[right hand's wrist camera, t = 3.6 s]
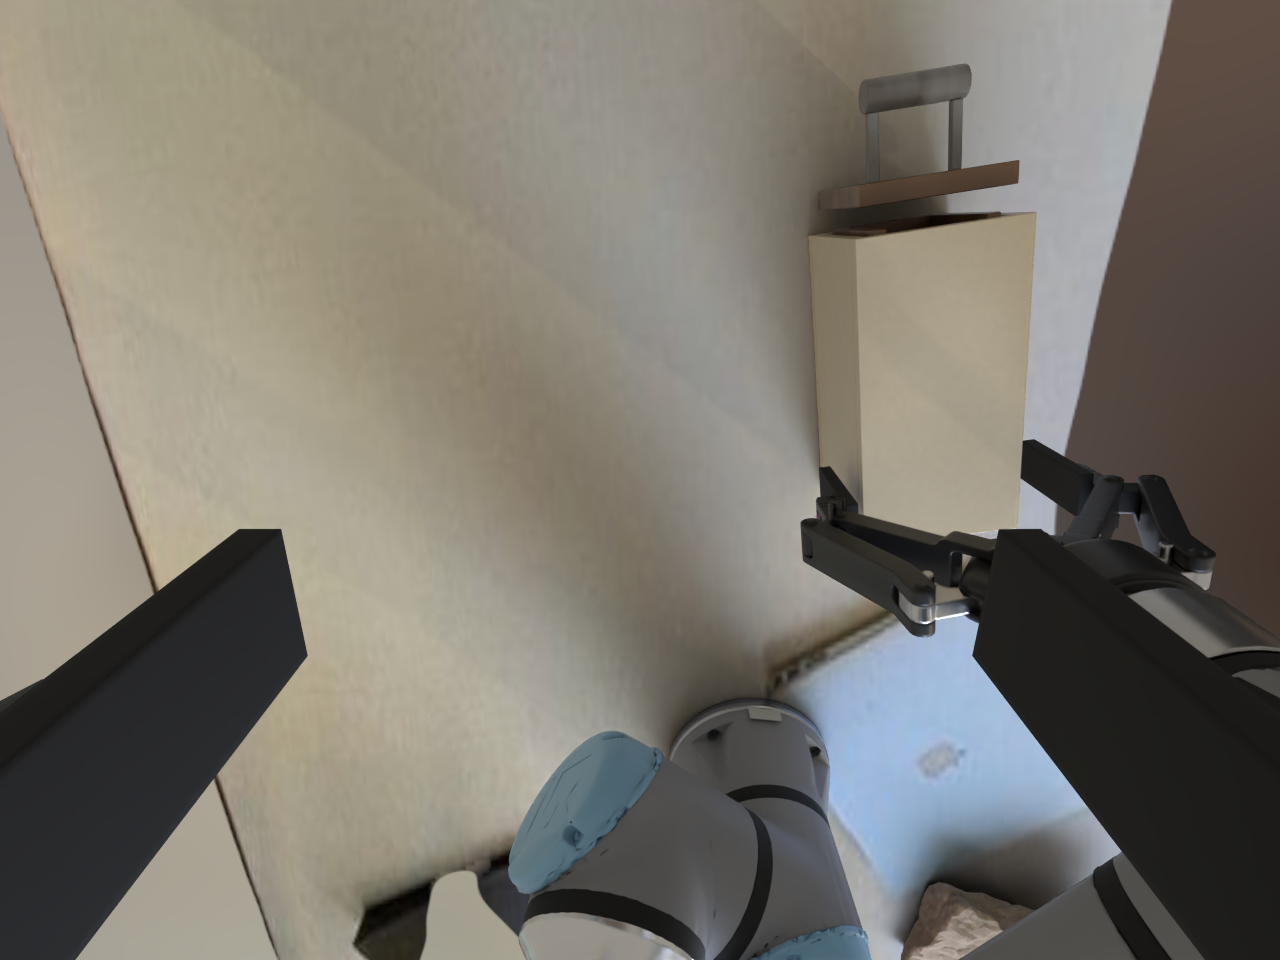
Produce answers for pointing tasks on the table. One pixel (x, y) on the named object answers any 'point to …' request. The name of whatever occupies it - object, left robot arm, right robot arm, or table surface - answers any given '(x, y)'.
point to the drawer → (905, 94)
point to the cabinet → (925, 369)
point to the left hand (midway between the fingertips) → (925, 471)
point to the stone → (957, 923)
